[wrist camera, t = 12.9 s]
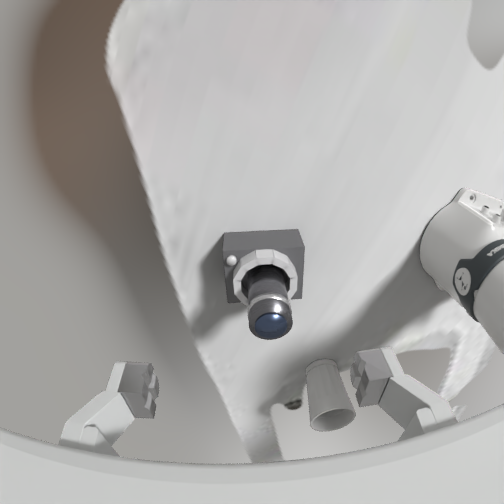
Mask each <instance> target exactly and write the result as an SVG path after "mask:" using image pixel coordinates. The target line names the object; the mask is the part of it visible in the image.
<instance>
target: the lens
mask: <svg viewBox="0 0 504 504" xmlns="http://www.w3.org/2000/svg"><path fill="white" fill-rule="evenodd" d="M247 280H248V319H249V328H250V331H251V332H252V333H253V334H254V335H255V336H257V337H259V338H261V339H267V340H272V339H277V338H280V337H282V336H284V335H286V334H287V333H288V332H289V331H290V329H291V327H292V324H293V321H292V316H291V314H292V311H291V306H290V303H289V300H288V295H287V290H286V285H285V279H284V274H283V271H282V269H281V268H280V267H278V266H275V265H273V264H264V265H257V266H255V267H254V268H252V269H250V270H249V271H248V275H247Z"/></svg>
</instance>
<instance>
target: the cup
mask: <svg viewBox="0 0 504 504" xmlns="http://www.w3.org/2000/svg"><path fill="white" fill-rule="evenodd" d="M305 375H306V381H307V391H308V400H309V412H310V425H311V427H312V428H313V429H314V430H317V431H332V430H336V429H340V428H342V427H344V426H346V425H348V424H349V423H351V422H352V421H353V420H354V418H355V416H356V413H355V410H354V408H353V405H352V403H351V401H350V398H349V397H348V395H347V392H346V390H345V387H344V384H343V382H342V379H341V377H340V374H339V372H338V367H337V364H336V363H335V362H334V361H333V360H330V359H321V360H317V361H315V362H313V363H311V364H310V365H308V367H307V368H306V370H305Z"/></svg>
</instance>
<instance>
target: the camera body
mask: <svg viewBox="0 0 504 504" xmlns="http://www.w3.org/2000/svg"><path fill="white" fill-rule="evenodd" d="M304 251H305V246H304V244H303V241H302V238H301V236H300V233H299V230H298V229H292V230H269V231H249V232H229V233H224V241H223V260H224V270H225V280H226V290H227V300H228V303H236V302H242V304H244V305H245V306H248V280H247V275H248V271H249V270H250V269H252V268H254V267H255V266H257V265H264V264H273V265H275V266H278V267H280V268H281V269H282V271H283V274H284V279H285V285H286V290H287V295H288V300H289V301H290V299H302V287H303V270H304Z"/></svg>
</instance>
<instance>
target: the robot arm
mask: <svg viewBox="0 0 504 504" xmlns="http://www.w3.org/2000/svg"><path fill="white" fill-rule="evenodd" d="M470 196H471V198H470ZM420 261H421V264H422V267H423V268H424V270H425V271H426V272H427V273H428V274H429V275H430V276H432V277H433V278H434V280H435V283H436V286H437V287H438V288H439V289H440V290H441V291H445V290H446V291H447V292H448V293H449V294H450V295H451V296H452V297H453V298H454V299H455V300H456V301H457V302H458V303H459V304H460V305H461V306H462V307H464V308H465V309H466V312H467V313H468V314H469V315H470V316H471V317H472V318H473V319H474V320H475V321H477V322H480V324H481V325H482V326H483V328H484V329H485V331H486V332H487V333H488V335H489V336H490V337H491V339H492V340H493V342H494V343H495V344H496V346H497V347H498V349H499V350H500V351H501V352H502V353H503V354H504V201H503V200H500V199H497V198H495V197H492V196H490V195H487V194H484V193H481V192H479V191H476V190H473V189H470V188H467V187H464V188H462V189H461V190H460V191H459V193H458V194H457V195H456V197H455V198H454V200H453V201H452V202H451V203H450V204H448V205H447V206H446V207H444V208H443V209H442V210H440V211H439V212H438V213H437V214H436V215H435V216H434V218H433V219H432V220H431V222H430V223H429V225H428V226H427V228H426V230H425V232H424V235H423V237H422V241H421V245H420ZM354 360H355V363H353V364H352V366H351V382H352V385H353V387H355V388H356V389H357V392H356V398H357V401H358V404H359V407H364V406H370V405H376V404H378V405H379V406H380V407H381V408H382V409H383V410H384V411H385V412H386V413H387V414H388V415H390V416H391V417H392V418H393V419H394V420H395V421H396V422H397V423H398V424H399V425H400V426H401V427H403V428H404V429H405V431H404V432H403V434H402V436H401V437H400V438H399V440H398V441H397V442H393V443H389V444H385V445H381V446H377V447H372V448H367V449H363V450H358V451H353V452H348V453H341V454H336V455H330V456H323V457H315V458H308V459H300V460H290V461H278V462H264V463H246V464H245V463H244V464H195V463H194V464H192V463H173V462H160V461H150V460H140V459H132V458H124V457H120V456H119V455H118V454H117V452H116V451H115V450H114V449H113V448H112V445H113V444H114V442H115V441H116V440H117V439H118V438H119V437H120V436H121V434H122V433H123V432H124V431H125V430H126V429H127V427H128V426H129V425H130V424H131V423H132V422H133V420H134V419H135V418H154V416H155V410H156V404H155V402H154V400H155V399H156V398H157V397H158V394H159V383H158V378H157V376H156V375H155V374H154V373H153V370H154V368H153V366H152V364H151V363H140V362H123V361H116V363H115V364H114V366H113V369H112V372H111V375H110V378H109V381H108V384H107V387H106V390H105V391H101V392H100V393H99V394H98V395H97V396H96V397H94V398H93V399H92V400H91V401H90V402H89V403H87V404H86V405H85V406H84V407H83V408H81V409H80V410H79V411H78V412H77V413H75V414H74V415H73V416H72V417H71V418H70V419H68V420H67V421H66V424H65V427H64V429H63V432H62V435H61V438H60V441H59V444H58V445H57V444H53V443H49V442H45V441H42V440H38V439H35V438H31V437H28V436H25V435H21V434H18V433H15V432H12V431H9V430H6V429H4V428H1V427H0V504H504V404H502V405H500V406H497V407H495V408H493V409H491V410H488V411H486V412H484V413H481V414H479V415H476V416H474V417H471V418H469V419H466V420H463V421H461V422H457V420H456V418H455V415H454V413H453V411H452V409H451V407H450V405H449V403H448V401H447V400H446V399H444V398H443V397H441V396H440V395H438V394H437V393H435V392H434V391H432V390H431V389H429V388H428V387H426V386H425V385H423V384H422V383H420V382H419V381H417V380H416V379H414V378H413V377H411V376H410V375H408V374H406V375H405V374H404V372H403V370H402V368H401V365H400V363H399V361H398V359H397V357H396V355H395V353H394V351H393V349H392V347H390V346H389V347H383V348H375V349H369V350H363V351H356V353H355V355H354Z"/></svg>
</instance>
